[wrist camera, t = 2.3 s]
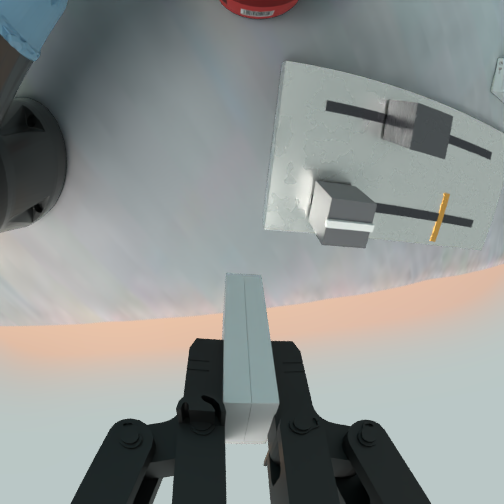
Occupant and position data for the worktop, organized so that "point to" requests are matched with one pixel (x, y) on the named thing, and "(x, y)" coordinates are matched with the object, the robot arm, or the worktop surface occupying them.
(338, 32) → the worktop surface
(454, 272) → the worktop surface
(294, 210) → the console
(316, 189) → the fader
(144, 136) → the worktop surface
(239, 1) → the canned food
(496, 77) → the skincare box
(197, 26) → the worktop surface
